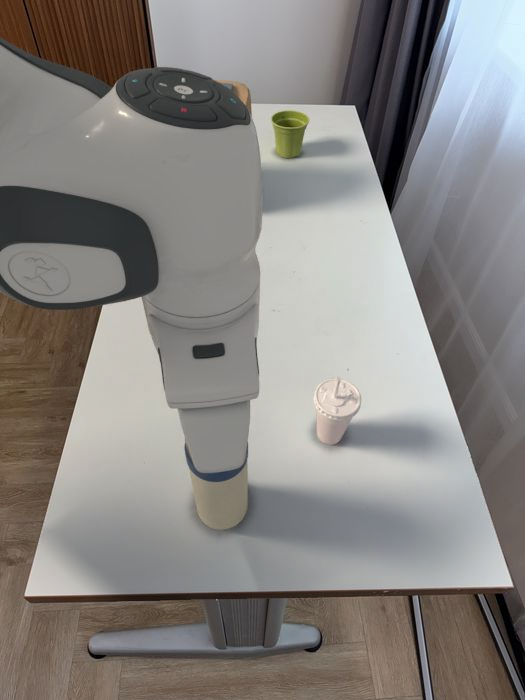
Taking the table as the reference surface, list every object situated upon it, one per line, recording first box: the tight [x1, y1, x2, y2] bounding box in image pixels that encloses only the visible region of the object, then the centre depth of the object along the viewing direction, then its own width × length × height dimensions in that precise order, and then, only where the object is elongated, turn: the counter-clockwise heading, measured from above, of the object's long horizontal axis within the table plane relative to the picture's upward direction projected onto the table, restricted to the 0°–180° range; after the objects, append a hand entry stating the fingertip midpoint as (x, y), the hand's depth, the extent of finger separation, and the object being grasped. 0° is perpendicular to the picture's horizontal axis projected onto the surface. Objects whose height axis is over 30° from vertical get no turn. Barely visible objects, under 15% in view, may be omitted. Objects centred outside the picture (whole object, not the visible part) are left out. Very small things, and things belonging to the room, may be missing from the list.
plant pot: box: [270, 109, 310, 159], centre depth 125 cm, size 9×9×9 cm
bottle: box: [183, 442, 249, 531], centre depth 61 cm, size 7×7×16 cm
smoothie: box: [313, 376, 362, 446], centre depth 70 cm, size 6×6×14 cm
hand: (211, 404), depth 49 cm, fingers open, 8 cm apart
